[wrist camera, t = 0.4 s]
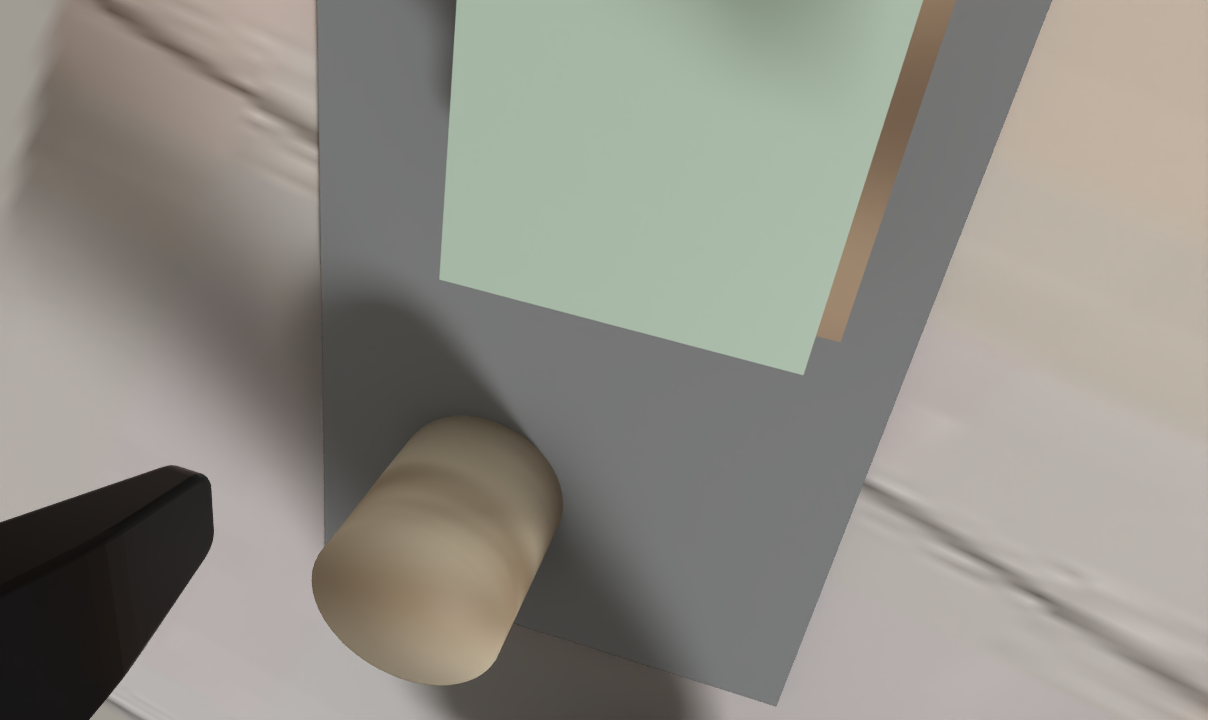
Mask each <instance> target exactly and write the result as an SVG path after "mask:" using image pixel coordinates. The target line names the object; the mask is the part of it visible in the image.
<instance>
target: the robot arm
mask: <svg viewBox="0 0 1208 720" xmlns="http://www.w3.org/2000/svg"><path fill="white" fill-rule="evenodd" d="M213 536H214V526H213V510H212V493H211V484H210V482H209V480H208V478H207V477H206V476H204V475H203V474H201V473H198V472H195V471H191V470H188V469H185V468H182V467H179V466H173V465H170V466H165V467H161V468H158V469H155V470H152V471H149V472H147V473H144V474H141V475H138V476H135V477H132V478H129V479H126V480H123V481H120V482H117V483H114V484H111V485H108V486H105V487H103V488H100V489H97V490H94V491H91V492H88V493H85V494H82V495H79V496H76V497H73V498H70V499H67V500H64V501H62V502H59V503H56V504H53V505H50V506H47V507H44V508H41V509H38V510H35V511H32V512H29V513H26V514H23V515H21V516H18V517H15V518H12V519H9V520H6V521H3V522H0V720H89V719H90V718H91V717H92V716H93V714H94V713H95V712H96V711H97V710H98V708H99V707H100V706H101V705H102V704H103V702H104V701H105V700H106V699H107V698H108V696H109V695H110V694H111V693H112V691H113V690H114V689H115V688H116V686H117V685H118V684H119V683H120V681H121V680H122V679H123V677H124V676H125V675H126V673H127V672H128V671H129V669H130V668H131V666H132V665H133V664H134V662H135V661H136V659H137V658H138V657H139V655H140V654H141V652H142V651H143V649H144V648H145V646H146V645H147V643H148V642H149V640H150V639H151V637H152V636H153V634H154V633H155V632H156V630H157V629H158V627H159V626H160V624H161V623H162V621H163V620H164V618H165V617H166V615H167V614H168V612H169V611H170V609H171V608H172V606H173V605H174V603H175V602H176V600H177V599H178V597H179V596H180V594H181V593H182V591H183V590H184V588H185V587H186V585H187V584H188V583H189V581H190V580H191V578H192V577H193V575H194V574H195V572H196V571H197V569H198V568H199V566H200V565H201V563H202V562H203V560H204V559H205V557H206V555H207V554H208V552H209V550H210V547H211V544H212V541H213Z"/></svg>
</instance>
